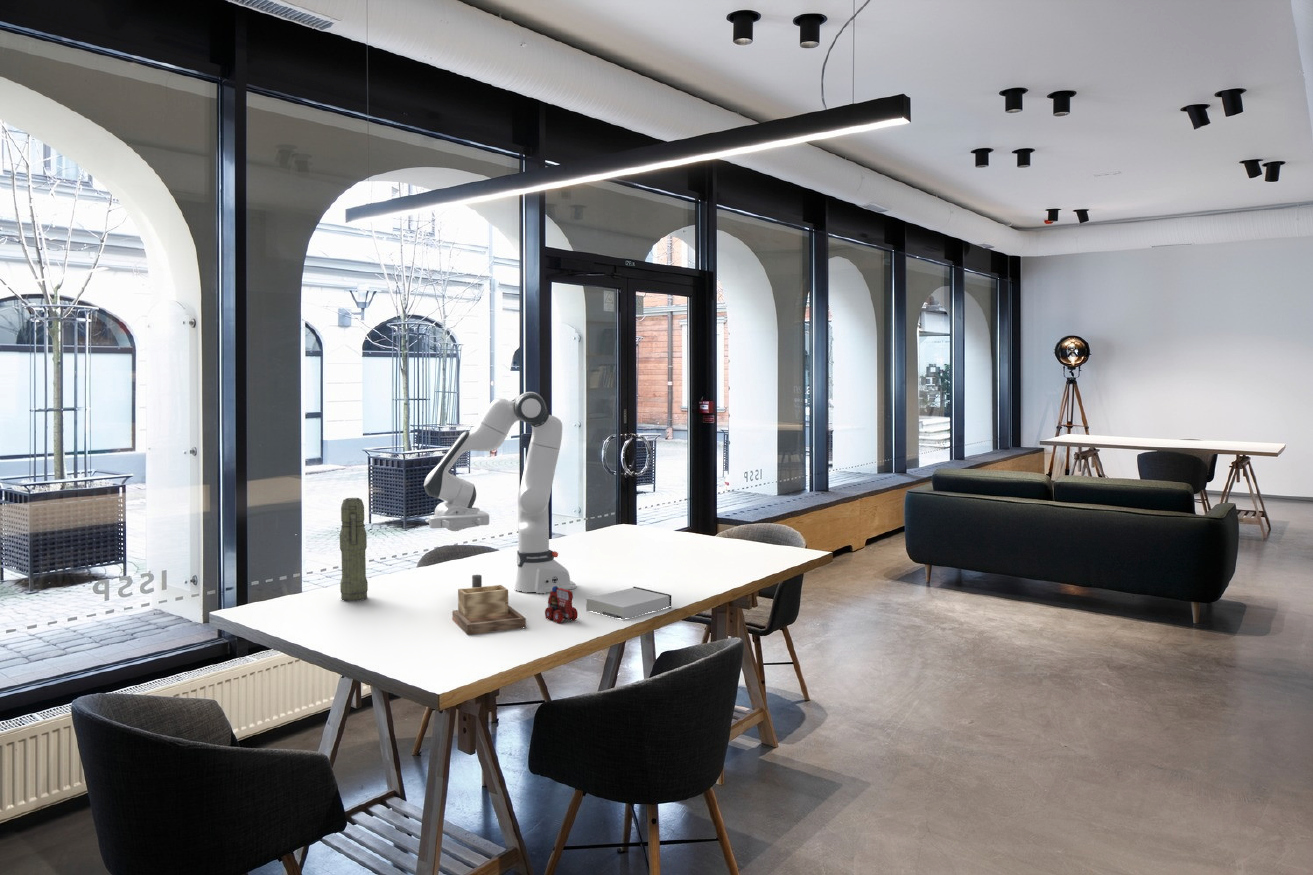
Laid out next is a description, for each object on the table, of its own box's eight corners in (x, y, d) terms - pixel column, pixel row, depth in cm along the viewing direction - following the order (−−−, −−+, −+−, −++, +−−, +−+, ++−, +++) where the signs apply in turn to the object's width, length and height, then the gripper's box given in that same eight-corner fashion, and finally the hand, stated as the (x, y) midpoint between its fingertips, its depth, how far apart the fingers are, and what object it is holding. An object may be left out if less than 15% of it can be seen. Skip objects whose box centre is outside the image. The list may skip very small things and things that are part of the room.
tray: (507, 613, 292) (507, 604, 292) (525, 627, 275) (525, 617, 275) (452, 619, 284) (452, 610, 284) (467, 634, 267) (467, 624, 267)
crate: (496, 605, 296) (496, 572, 295) (508, 614, 284) (508, 580, 284) (454, 610, 290) (454, 576, 289) (464, 619, 278) (464, 584, 278)
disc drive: (671, 609, 300) (671, 594, 300) (623, 622, 284) (623, 606, 283) (634, 600, 312) (634, 586, 312) (585, 612, 296) (585, 597, 295)
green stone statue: (343, 603, 305) (341, 501, 303) (338, 596, 316) (336, 497, 314) (370, 600, 309) (368, 499, 307) (364, 593, 320) (362, 496, 318)
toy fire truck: (559, 614, 292) (559, 582, 291) (580, 621, 282) (580, 589, 281) (541, 617, 287) (540, 585, 287) (562, 625, 278) (561, 592, 277)
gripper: (424, 510, 308) (432, 516, 295) (482, 507, 317) (493, 512, 304) (424, 529, 308) (433, 535, 296) (483, 525, 317) (493, 530, 305)
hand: (464, 523), depth 300 cm, fingers open, 8 cm apart
